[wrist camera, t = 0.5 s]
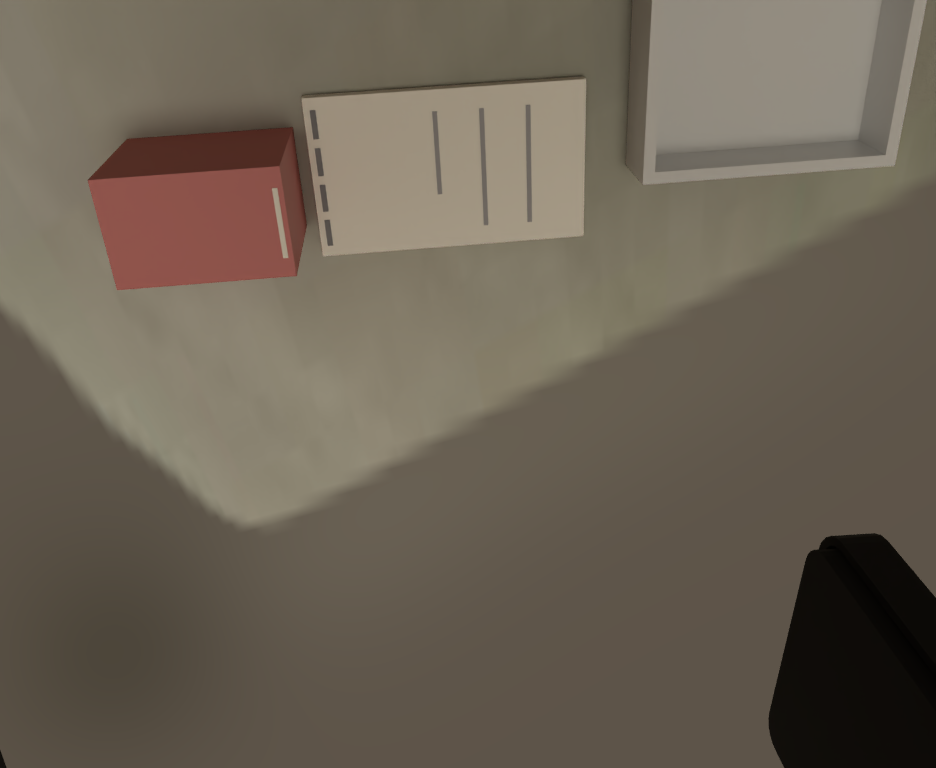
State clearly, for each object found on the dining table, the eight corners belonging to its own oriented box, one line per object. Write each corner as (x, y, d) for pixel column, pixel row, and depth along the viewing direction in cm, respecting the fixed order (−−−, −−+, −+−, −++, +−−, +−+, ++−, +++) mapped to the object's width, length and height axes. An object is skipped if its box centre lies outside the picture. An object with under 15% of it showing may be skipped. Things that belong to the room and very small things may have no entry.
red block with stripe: (127, 138, 38) (87, 180, 33) (292, 126, 38) (279, 166, 33) (151, 236, 40) (116, 290, 35) (307, 224, 40) (296, 276, 35)
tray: (634, -57, 36) (654, -52, 33) (899, -73, 36) (940, -69, 34) (625, 164, 40) (642, 184, 38) (861, 147, 41) (894, 165, 38)
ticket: (302, 95, 37) (301, 98, 37) (583, 76, 38) (586, 79, 37) (323, 251, 41) (323, 256, 40) (580, 231, 42) (583, 236, 41)
